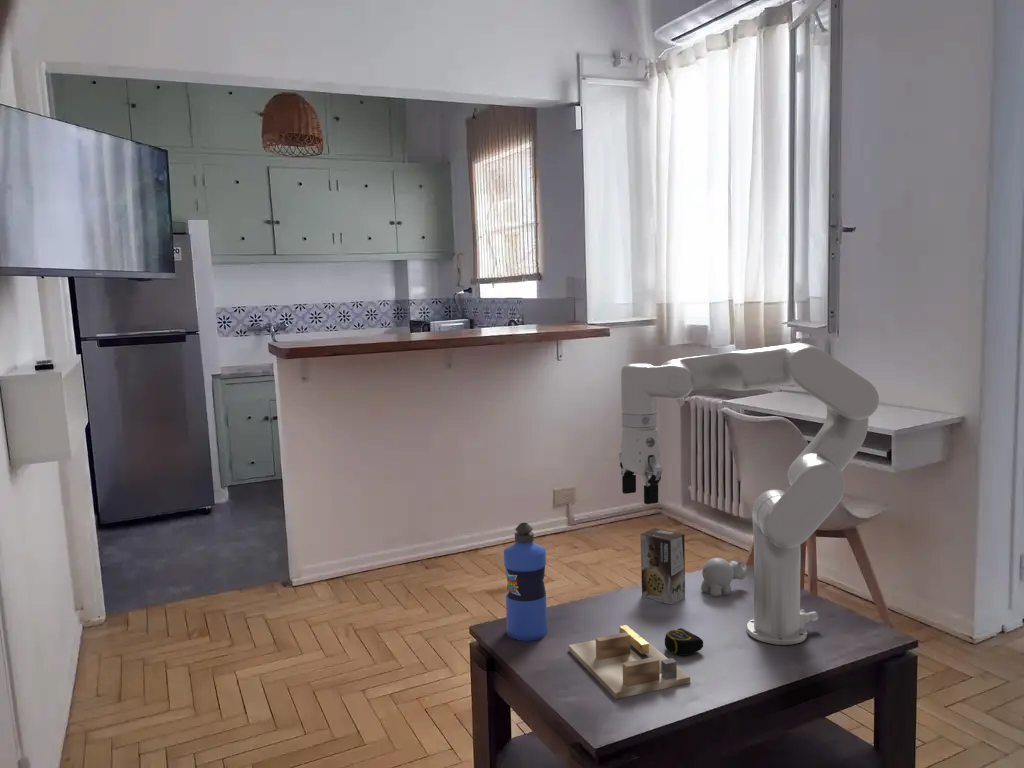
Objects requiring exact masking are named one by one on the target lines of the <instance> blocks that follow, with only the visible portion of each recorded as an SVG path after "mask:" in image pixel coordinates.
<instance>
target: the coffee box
mask: <svg viewBox="0 0 1024 768" xmlns="http://www.w3.org/2000/svg"><path fill="white" fill-rule="evenodd" d="M639 536H640V567H641V568H640V569H641V570H640V571H641V573H640V574H641V597H644V598H646V599H647V598H648V599H651V600H654V601H656V602H662V603H665V604H668V605H674V604H676V603H678V602H680V601H682V600H684V599H685V598H686V562H685V561H686V560H685V559H686V558H685V556H686V554H685V550H686V549H685V533H680V532H675V531H670V530H667V529H666V530H665V529H663V528H658V527H657V528H656V527H654V528H651V529H648V530H646V531H645V532H642V533H640V535H639Z"/></svg>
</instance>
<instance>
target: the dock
mask: <svg viewBox="0 0 1024 768" xmlns="http://www.w3.org/2000/svg"><path fill="white" fill-rule="evenodd" d="M634 632H635V633H637V632H636V631H634ZM637 634H638V635H639V636H640V637H641V638H643V637H642V636H641V635H640V634H639V633H637ZM643 639H644V640H645V641H646V642H647V643H649V641H648V640H646V639H645V638H643ZM568 651H569V652H570V654H572V655H573V657H575V658H576V660H577V661H578V662H579V663H580V664H581V665H582V666H583V667H584V668H585V670H587V671H588V672H589V673H590V674H591V675H592V676H593V677H594V678H595V679H596V681H598V683H599V684H601V686H602V687H603V688H604V689H605V690H606V691H607V692H608V693H609V694H610V695H611V696H612V697H613V698H614V700H618V699H622V698H623V699H624V698H627V697H630V696H637V695H640V694H646V693H650V692H654V691H659V690H664V689H668V688H673V687H674V688H675V687H678V686H682V685H686V684H687V685H688V684H690V683H691V676H689V674H687V673H686V672H684V670H682V669H681V668H680V667H679V666H678V665H677V661H676V659H674V658H668V657H666V656H665V655H664V654H663V653H662V652H661V651H659V650H658V649H657V648H656V647H655V646H654V645H652V644H651V643H649V653H646V654H641V653H640V652H639V651H638V650H636V649H635V648H634V647H633V646H632V645H631V644H630V635H629V634H628V633H627V632H625V633H620V632H619V633H616V634H611V635H605V636H601V637H600V636H599V637H595V639H594V640H589V641H583V642H582V641H581V642H578V643H573V644H569V645H568Z"/></svg>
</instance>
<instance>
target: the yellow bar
mask: <svg viewBox="0 0 1024 768" xmlns="http://www.w3.org/2000/svg"><path fill="white" fill-rule="evenodd" d="M625 632H627V633H628V634H629V635H630V644H631V645H632V646H633V647H634V648H635V649H636V650H638V651H639V652H640V653H641V654H646V653H649V642H648V641H647V640H646V639H645V638H644V639H645V640H646V641H647V642H648V643H647V642H646V641H645V640H644V639H643V637H642V636H641V635H640V634H639V633H638V634H639V635H640V636H641V637H642V638H641V637H640V636H639V635H638V634H637V632H636V631H634V630H633V629H632V628H630V626H628V625H627V624H624V625H619V634H620V633H625ZM635 632H636V633H635Z"/></svg>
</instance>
